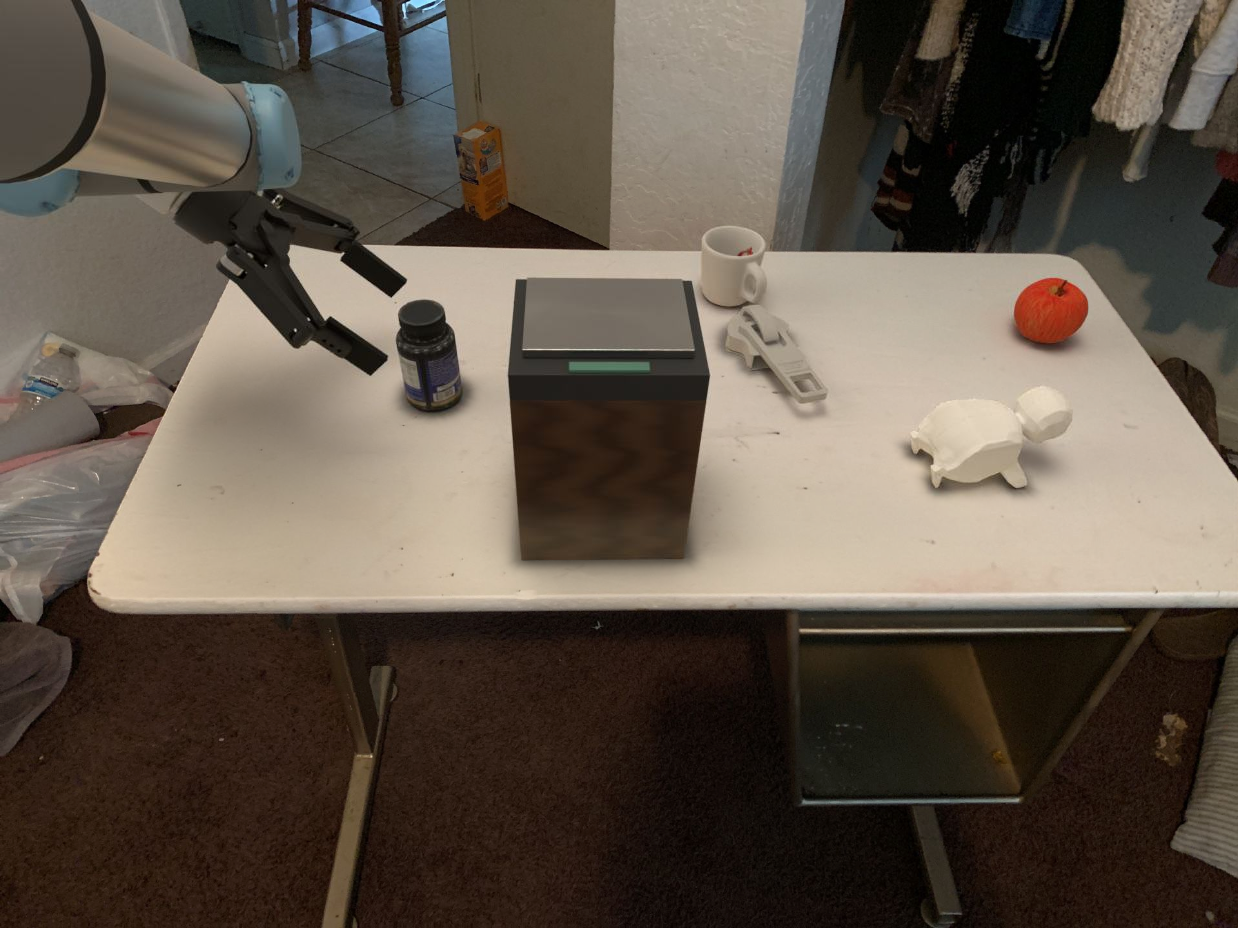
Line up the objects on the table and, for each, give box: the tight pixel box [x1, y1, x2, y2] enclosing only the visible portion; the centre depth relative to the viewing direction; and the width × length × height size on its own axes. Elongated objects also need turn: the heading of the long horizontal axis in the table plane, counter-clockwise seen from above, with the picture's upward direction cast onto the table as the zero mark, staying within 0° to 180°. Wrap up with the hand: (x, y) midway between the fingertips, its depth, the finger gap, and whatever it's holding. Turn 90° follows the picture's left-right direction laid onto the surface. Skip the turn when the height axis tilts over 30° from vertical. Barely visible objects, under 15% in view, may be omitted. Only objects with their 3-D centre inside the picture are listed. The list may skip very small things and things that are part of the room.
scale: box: [507, 277, 711, 402], centre depth 67 cm, size 15×13×3 cm
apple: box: [1013, 277, 1089, 344], centre depth 102 cm, size 8×8×8 cm
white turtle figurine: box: [909, 385, 1073, 489], centre depth 85 cm, size 9×8×15 cm
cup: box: [700, 225, 768, 307], centre depth 105 cm, size 11×8×8 cm
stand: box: [509, 400, 707, 561], centre depth 75 cm, size 15×13×19 cm
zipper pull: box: [724, 303, 829, 405], centre depth 97 cm, size 8×18×4 cm, turn 18°
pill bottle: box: [395, 298, 463, 412], centre depth 88 cm, size 6×6×11 cm
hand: (390, 325), depth 86 cm, fingers open, 13 cm apart
